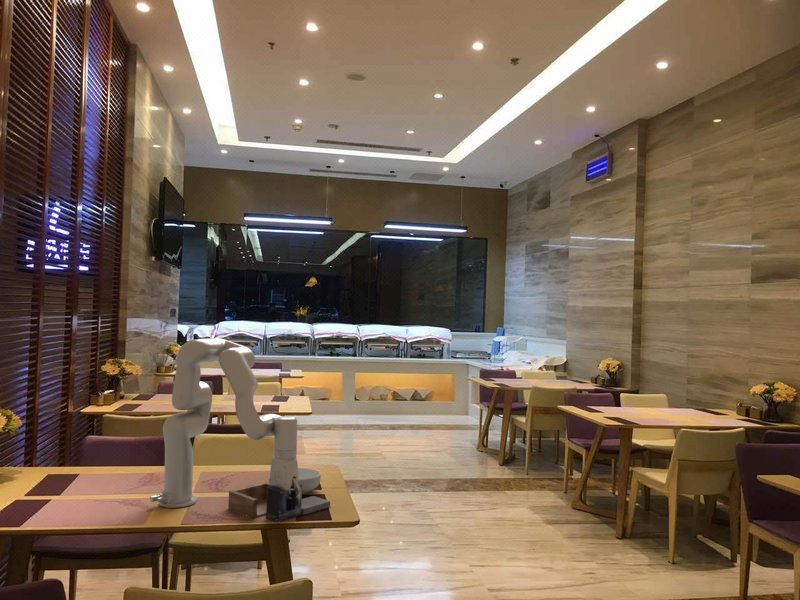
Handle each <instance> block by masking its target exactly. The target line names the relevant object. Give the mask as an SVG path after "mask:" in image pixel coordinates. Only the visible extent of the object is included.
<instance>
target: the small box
mask: <svg viewBox="0 0 800 600" xmlns="http://www.w3.org/2000/svg"><path fill="white" fill-rule="evenodd" d="M299 486H300V488H301V490H300V492H299V493H298V495H297V497H296V498H295V509H294V510H291V511H287V499H288V495H287V491H284V490H283V489H281V488H278V487H276V486H269V487H267V508H266V515H265V519H267V520H270V521H272V522H276V523H280V522H283V521H284V522H285V521H287V520H290V519H293V518H296V517H300V516H301V515H302V514H301V502H302V499H303V497H302V496H303V494H302V485H301V484H299ZM291 488H292V487H291ZM291 488H290V489H291ZM290 493H292V491H290Z"/></svg>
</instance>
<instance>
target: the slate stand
mask: <svg viewBox="0 0 800 600" xmlns="http://www.w3.org/2000/svg"><path fill="white" fill-rule="evenodd" d="M328 508H331V500H327V499H324V498H321V497H318V496H315V495H312V496H309V497H305V498H302V502H301V515H302V514H303V516H304V514H305V515H307V514H311V513H315V512H318V511H321V509H322V510H325V509H328ZM317 510H318V511H317Z"/></svg>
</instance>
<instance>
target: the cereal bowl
mask: <svg viewBox="0 0 800 600" xmlns="http://www.w3.org/2000/svg"><path fill="white" fill-rule="evenodd" d="M321 477H322V473H321V472H320V471H318V470H316V469H312V468H305V467H304V468H303V467H302V468H301V467H298V484H301V485H302V495H305V494H308V493H309V492H311V491H313V490H315V489H316V488H318V486H319V484H320V483H321ZM307 492H308V493H307Z"/></svg>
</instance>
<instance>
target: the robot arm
mask: <svg viewBox="0 0 800 600" xmlns="http://www.w3.org/2000/svg"><path fill="white" fill-rule="evenodd" d="M214 362H218V364H219V366H220V368H221V370H222V371H223V374H224V376H225V378H226V379H227V381H228V384H229V385H230V387H231V389H232V391H233V393H234V396H235V397H234V401H235V402H234V404H235V406H234V407H235V414H236V417H237V418H236V419H237V421H238V422H239V425H240V426H241V428H242V430H243V432H244V433H245V434H246V436H247V437H248V438H249V439H251V440H253V441H260V440H263V439H266V438H269V437H272V436H273V437H274V438H273V456H272V459H271V462H270V463H271V465H270V472H269V479H268V483H270V485H271V486H276V487H278V488H281V489H283V490H284V491H287V495H288V499H287V511H291V510H294V509H295V498H296V497H297V495H298V493H299V492H300V490H301V488H300V486H299V484H298V468H299V466H298V458H297V454H298V451H297V449H298V446H297V445H298V419H297V418H296V417H295V416H292V415H291V416H289V415H283V416H282V415H279V414H275V413H266V414H262V415H259V413H258V411H257V408H256V407H255V404H254V403H255V402H254V395H255V392H256V391H257V389H258V387H259V382H258V380H257V378H256V377H255V375H254V372H253V371H252V369H251V368H252V367H254V365H255V363H256V357H255V354H254V352H253V351H252V349H250V348H249V347H247V346H244V345H242V344H240V343H239V344H238V343H235V342H233V341H230V340H227V339H225V338H220V337H218V338H213V337H212V338H197V339H196V338H195V339H192V340H188V341H186V342H184V343H183V344H182V345H181V346H180V348H179V349H178V351H177V356H176V366H175V367H176V370H175V375H174V381H173V386H172V395H171V404H172V406H173V408H174V409H176V410H179V411H183V412H178V413H175V414H172V415H170V416H168V417H167V418H166V419H165V421H164V423H163V426H162V435H163V440H164V475H163V476H164V480H163V483H164V484H163V490H161V491H160V493H158V495H152V496H150V497H149V501H150V503H154V502H157V503H158V505H159V506H161V507H162V508H169V509H170V508H171V509H173V508H174V509H175V508H176V509H177V508H184V507H188V506H191V505H194V504H196V502H197V496H195V495H194V494H193V485H194V484H193V483H194V481H193V478H194V448H193V445H192V442H191V439H192V438H195V437H197V436H200V435H202V434H203V433H204V432H205V431H206V430H207V429H208V427H209V421H210V416H211V415H210V414H211V411H212V410H211V409H212V404H213V403H212V402H213V391H212V388H211V387H210V385H209V384H208V383H207V382H205V381H201V377H202V374H201V373H202V371H201V367H200V364H203V363H204V364H205V363H214ZM291 487H292V488H291ZM290 488H291V489H290ZM290 491H292V493H290Z"/></svg>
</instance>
